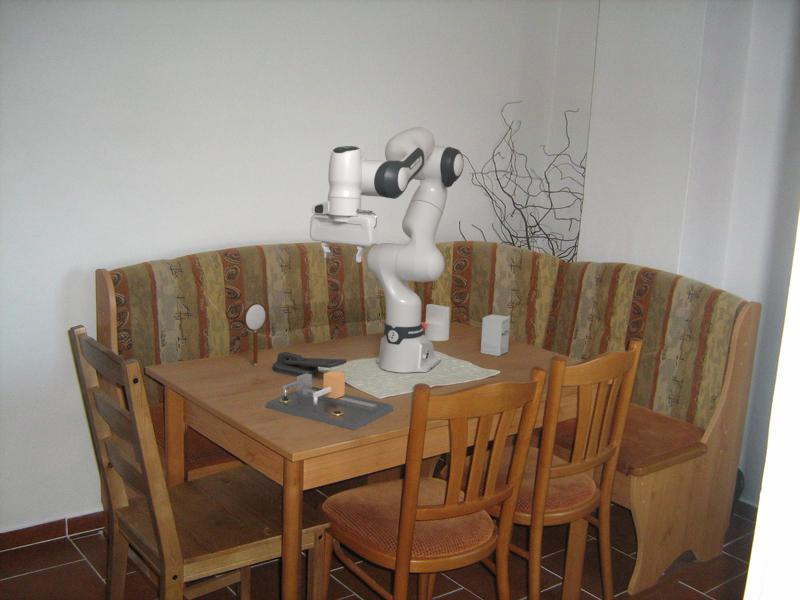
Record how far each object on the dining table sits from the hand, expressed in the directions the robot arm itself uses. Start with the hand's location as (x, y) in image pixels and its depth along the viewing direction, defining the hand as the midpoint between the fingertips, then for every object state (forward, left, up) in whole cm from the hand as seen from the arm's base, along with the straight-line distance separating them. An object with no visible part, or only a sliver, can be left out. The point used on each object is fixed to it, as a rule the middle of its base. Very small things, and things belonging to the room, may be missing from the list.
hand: (342, 260), depth 208 cm
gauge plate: (+10, +4, -38) cm, 40 cm away
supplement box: (-71, +14, -38) cm, 81 cm away
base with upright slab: (-77, -12, -38) cm, 86 cm away
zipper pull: (-11, -20, -38) cm, 44 cm away
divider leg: (+11, +3, -36) cm, 37 cm away
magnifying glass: (-9, -39, -38) cm, 55 cm away
